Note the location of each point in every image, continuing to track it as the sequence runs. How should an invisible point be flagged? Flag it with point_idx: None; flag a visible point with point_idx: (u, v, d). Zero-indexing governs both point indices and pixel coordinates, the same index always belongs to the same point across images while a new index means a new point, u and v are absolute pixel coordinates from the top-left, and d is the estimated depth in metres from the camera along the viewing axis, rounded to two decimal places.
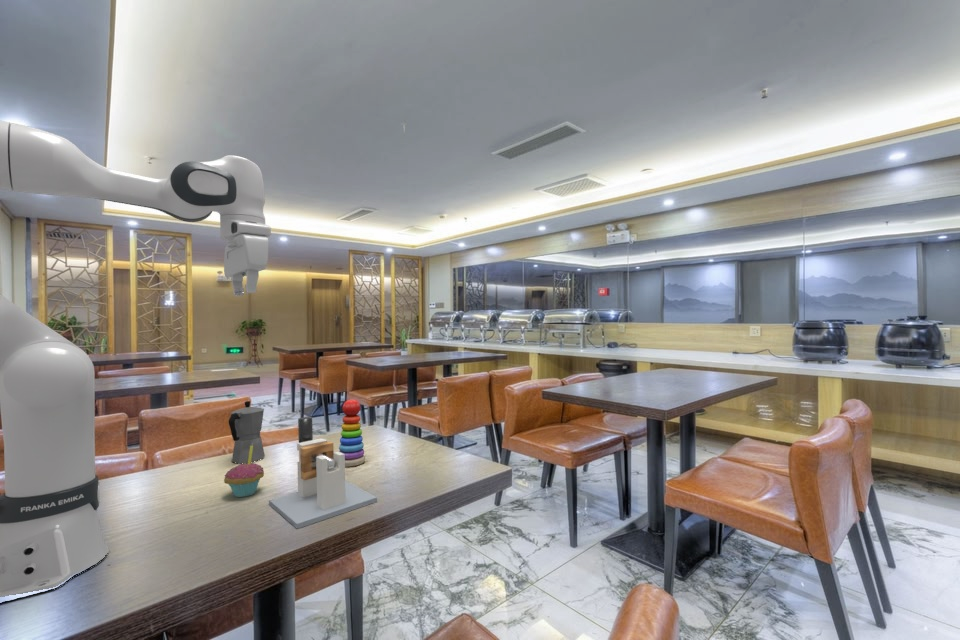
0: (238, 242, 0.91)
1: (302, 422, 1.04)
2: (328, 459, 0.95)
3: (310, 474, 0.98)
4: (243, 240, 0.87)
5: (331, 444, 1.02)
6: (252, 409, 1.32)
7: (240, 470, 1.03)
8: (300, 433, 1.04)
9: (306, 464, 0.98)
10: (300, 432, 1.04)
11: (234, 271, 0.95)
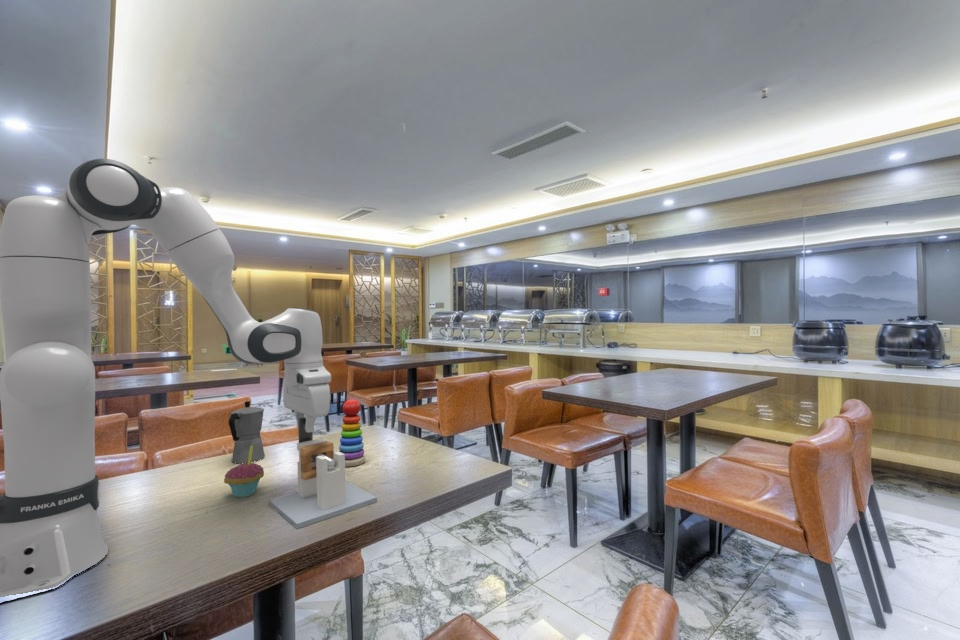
0: (302, 389, 1.01)
1: (302, 422, 1.04)
2: (328, 459, 0.95)
3: (310, 474, 0.98)
4: (309, 392, 0.97)
5: (331, 444, 1.02)
6: (252, 409, 1.32)
7: (240, 470, 1.03)
8: (300, 433, 1.04)
9: (306, 464, 0.98)
10: (300, 432, 1.04)
11: (296, 410, 1.05)
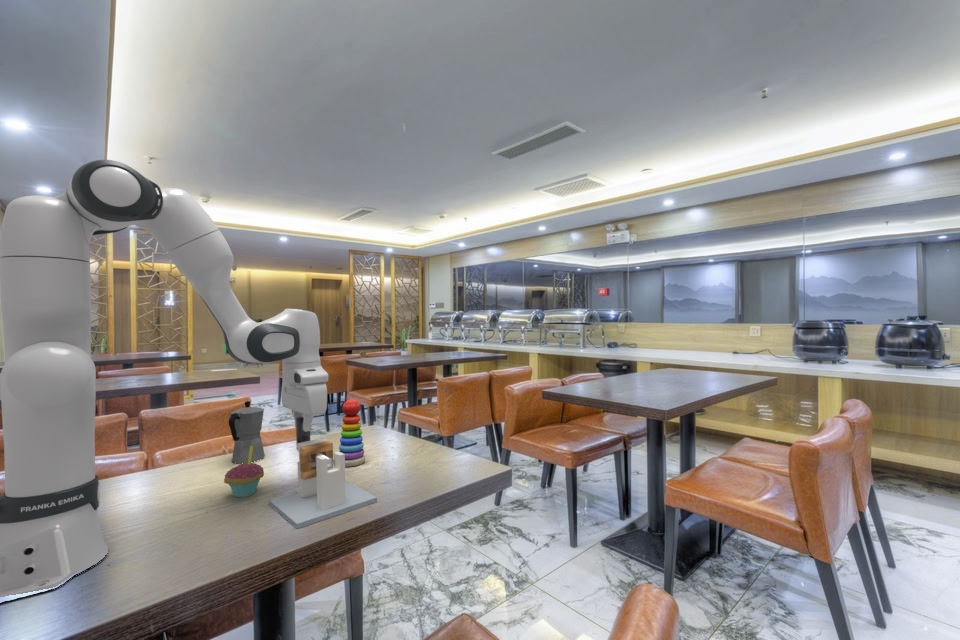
0: (300, 389, 1.02)
1: (300, 421, 1.05)
2: None
3: (309, 474, 0.98)
4: (306, 392, 0.98)
5: (330, 444, 1.02)
6: (252, 409, 1.32)
7: (240, 470, 1.03)
8: (298, 432, 1.05)
9: (305, 464, 0.98)
10: (298, 431, 1.05)
11: (294, 409, 1.06)
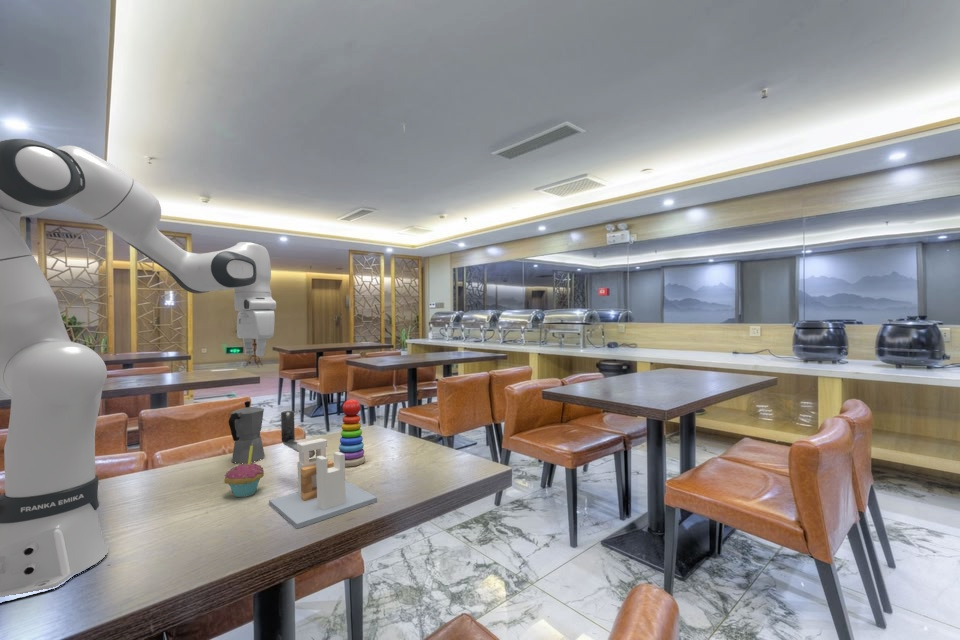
0: (249, 315, 1.10)
1: (285, 415, 1.13)
2: None
3: (310, 495, 0.98)
4: (254, 316, 1.07)
5: (331, 464, 1.02)
6: (252, 409, 1.32)
7: (240, 470, 1.03)
8: (282, 426, 1.13)
9: (306, 485, 0.98)
10: (283, 424, 1.13)
11: (246, 337, 1.14)
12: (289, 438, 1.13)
